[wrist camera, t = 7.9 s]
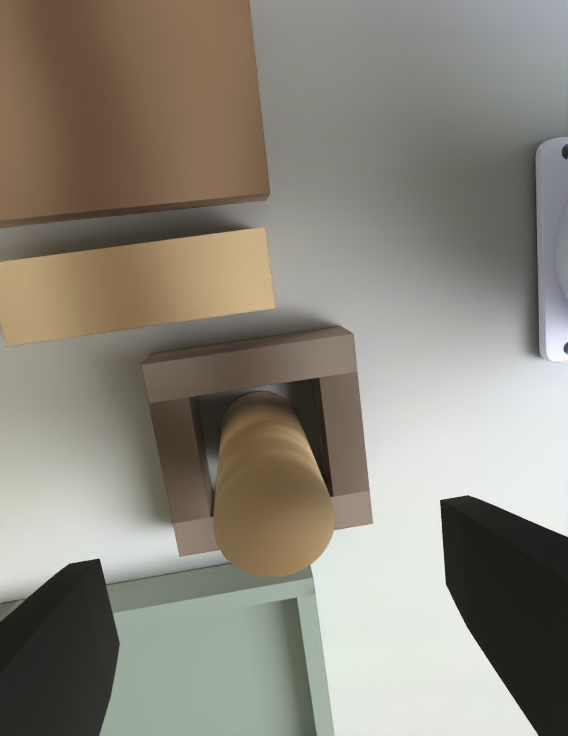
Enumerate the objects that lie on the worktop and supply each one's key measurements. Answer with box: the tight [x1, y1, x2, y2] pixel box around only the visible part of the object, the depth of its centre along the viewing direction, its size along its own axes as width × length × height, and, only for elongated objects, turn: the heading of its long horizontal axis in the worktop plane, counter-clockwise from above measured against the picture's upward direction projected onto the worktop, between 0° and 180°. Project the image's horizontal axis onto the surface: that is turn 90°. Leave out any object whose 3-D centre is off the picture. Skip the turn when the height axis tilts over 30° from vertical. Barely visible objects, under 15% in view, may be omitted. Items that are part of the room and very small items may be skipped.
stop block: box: [0, 227, 276, 347], centre depth 16 cm, size 8×2×3 cm, turn 98°
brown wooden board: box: [0, 0, 270, 228], centre depth 16 cm, size 9×6×2 cm, turn 96°
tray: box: [0, 563, 335, 736], centre depth 20 cm, size 12×10×2 cm
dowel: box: [213, 391, 335, 577], centre depth 16 cm, size 3×3×7 cm
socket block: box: [141, 326, 373, 557], centre depth 18 cm, size 7×7×2 cm
